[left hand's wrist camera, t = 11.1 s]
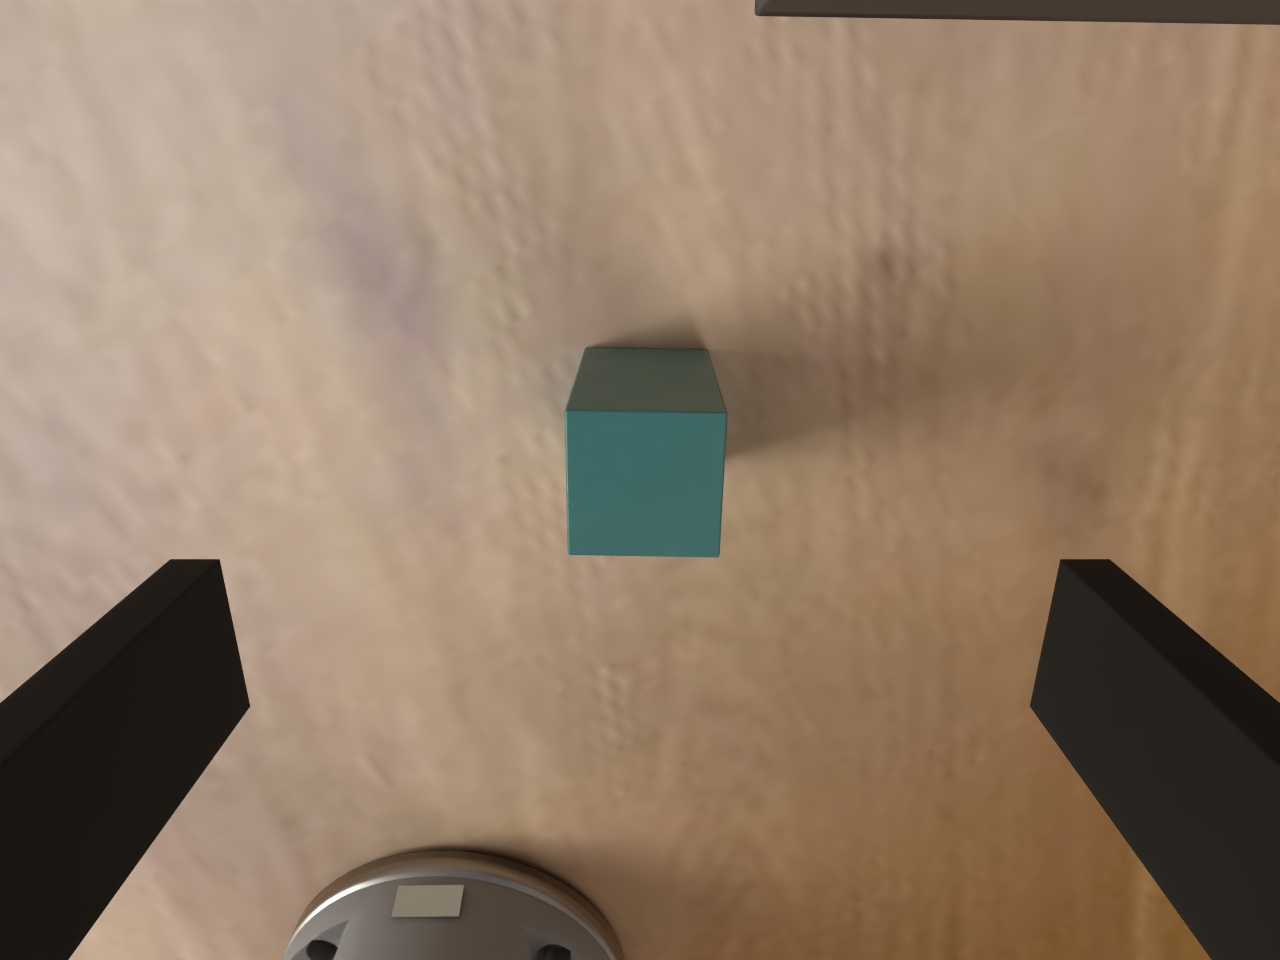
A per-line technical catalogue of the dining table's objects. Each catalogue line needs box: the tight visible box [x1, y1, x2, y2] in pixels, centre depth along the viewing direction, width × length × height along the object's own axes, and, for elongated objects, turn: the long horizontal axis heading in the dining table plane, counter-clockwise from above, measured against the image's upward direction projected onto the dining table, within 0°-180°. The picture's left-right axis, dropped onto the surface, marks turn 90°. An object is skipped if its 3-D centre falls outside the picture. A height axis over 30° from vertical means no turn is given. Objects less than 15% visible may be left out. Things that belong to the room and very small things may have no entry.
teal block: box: [565, 348, 727, 557], centre depth 24 cm, size 4×4×7 cm
